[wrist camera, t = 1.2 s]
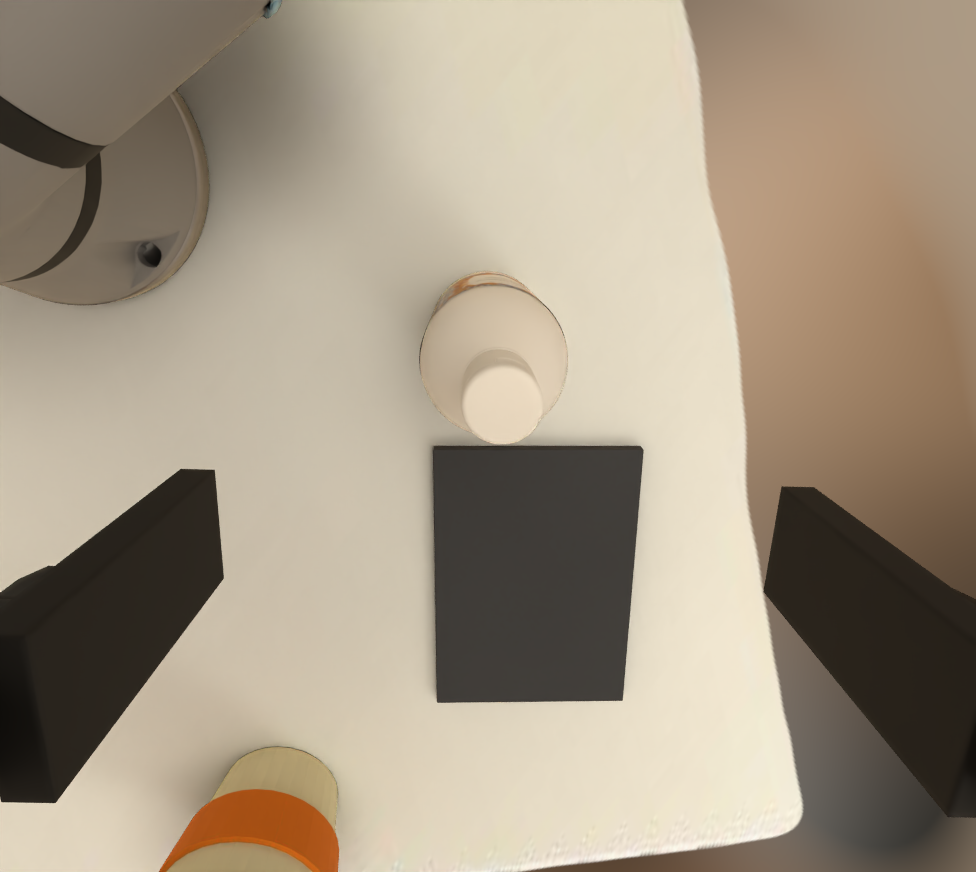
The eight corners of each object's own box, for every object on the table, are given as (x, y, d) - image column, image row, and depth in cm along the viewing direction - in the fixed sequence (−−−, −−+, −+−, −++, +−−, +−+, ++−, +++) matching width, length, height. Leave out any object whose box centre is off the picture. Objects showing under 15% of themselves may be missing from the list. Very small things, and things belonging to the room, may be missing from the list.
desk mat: (433, 445, 44) (433, 449, 44) (640, 445, 45) (643, 449, 44) (437, 695, 50) (436, 703, 50) (620, 693, 51) (622, 701, 50)
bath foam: (554, 286, 42) (627, 333, 22) (525, 390, 43) (570, 516, 24) (446, 257, 41) (427, 282, 22) (421, 365, 43) (384, 475, 24)
